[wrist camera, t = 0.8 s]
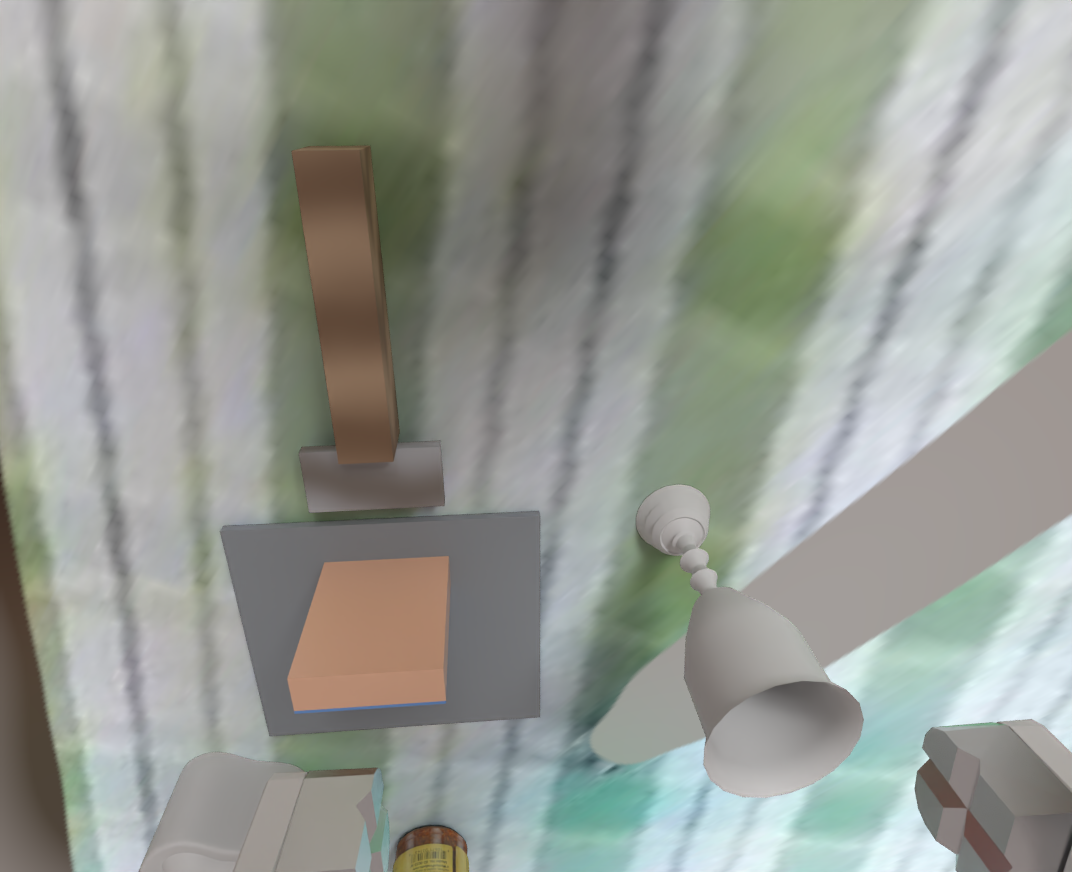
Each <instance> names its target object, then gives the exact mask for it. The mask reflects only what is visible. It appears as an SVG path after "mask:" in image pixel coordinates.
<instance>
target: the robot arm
mask: <svg viewBox="0 0 1072 872" xmlns="http://www.w3.org/2000/svg"><path fill="white" fill-rule="evenodd" d="M922 748H923V750H924V751H925V752H926V754H927V755H928V757H929V758H930V759H929V760H928V761H927V762H926V763H925V764H924V765H923V766H922V767H921V768H920V769H919V770H918V771H917V776H916V783H915V794H916V799H917V804H918V809H919V811H920V814H921V816H922V818H923V820H924V823H925V825H926V826H927V828H928V829H929V831H930V832H931V834H932V835H933V837H934V839H935V840H936V841H937V842H939V843H940V844H942V845H943V846H945V847H946V848H948V849H949V850H951V851H952V852H954V853H955V854H956V871H957V872H1072V753H1071V752H1070V751H1069V750H1068V749H1067V748H1066V747H1065V746H1064V745H1063V744H1062V743H1061V742H1060V741H1059V740H1058V739H1057V738H1056V737H1055V736H1054V735H1053V734H1052V733H1051V732H1050V731H1049V730H1048V729H1047V728H1046V727H1045V726H1043V725H1042V724H1040V723H1038V722H1036V721H1034V720H1032V719H1027V720H1015V721H1003V722H997V723H993V722H990V723H978V724H966V725H954V726H942V727H932V728H931V729H930V730H929V731H928V732H927V733H926V734H925V738H924V742H923V747H922ZM383 789H384V785H383V780H382V774H381V770H380V769H379V768H362V769H340V770H318V771H309V772H290V773H274V774H273V775H272V776H271V778H270V779H269V780H268V782H267V783H266V785H265V788H264V791H263V793H262V796H261V798H260V801H259V804H258V806H257V809H256V812H255V814H254V817H253V819H252V822H251V825H250V827H249V830H248V833H247V835H246V838H245V841H244V843H243V846H242V848H241V851H240V854H239V856H238V859H237V862H236V864H235V867H234V870H233V872H387V870H388V861H389V843H390V838H389V821H388V813H387V810H386V809H385V808H384V807H382V806H381V801H382V795H383Z"/></svg>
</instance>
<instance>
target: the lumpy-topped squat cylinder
mask: <svg viewBox="0 0 1072 872" xmlns="http://www.w3.org/2000/svg"><path fill="white" fill-rule="evenodd" d="M290 772H304V771H303V770H302V769H300V768H299V767H297V766H294V765H291V764H287V763H280V762H265V761H257V760H252V759H248V758H244V757H241V756H237V755H234V754H230V753H224V752H210V753H205V754H202V755H200V756H197V757H195V758H194V759H192V760H191V761H190V762H188V763H187V764H186V766H185V767H184V768H183V770H182V772H181V774H180V776H179V779H178V781H177V783H176V786H175V788H174V790H173V792H172V795H171V797H170V799H169V802H168V804H167V806H166V809H165V811H164V813H163V816H162V818H161V820H160V823H159V825H158V827H157V830H156V832H155V834H154V836H153V839H152V841H151V843H150V846H149V848H148V850H147V853H146V855H145V857H144V860H143V862H142V864H141V867H140V869H139V872H233V870H234V867H235V864H236V862H237V859H238V856H239V854H240V851H241V848H242V846H243V843H244V841H245V838H246V835H247V833H248V830H249V827H250V825H251V822H252V819H253V817H254V814H255V812H256V809H257V806H258V804H259V801H260V798H261V796H262V793H263V791H264V788H265V785H266V783H267V782H268V780H269V779H270V778H271V776H272V775H273V774H274V773H290Z"/></svg>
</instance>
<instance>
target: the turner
mask: <svg viewBox="0 0 1072 872" xmlns="http://www.w3.org/2000/svg"><path fill="white" fill-rule="evenodd" d="M292 157H293V164H294V170H295V177H296V184H297V191H298V197H299V204H300V211H301V217H302V224H303V231H304V237H305V244H306V251H307V257H308V264H309V271H310V277H311V284H312V291H313V297H314V304H315V311H316V317H317V324H318V331H319V337H320V344H321V351H322V357H323V364H324V371H325V377H326V384H327V391H328V398H329V404H330V411H331V418H332V424H333V431H334V438H335V444H336V445H332V446H309V447H301V449H300V451H299V458H300V463H301V469H302V475H303V480H304V486H305V492H306V497H307V503H308V508H309V513H314V512H334V511H354V510H374V509H393V508H413V507H433V506H444V504H445V495H444V481H443V468H442V455H441V441H424V442H401V443H398V438H399V434H400V429H399V420H398V410H397V400H396V391H395V381H394V371H393V362H392V352H391V342H390V332H389V323H388V313H387V303H386V294H385V284H384V274H383V265H382V255H381V245H380V235H379V226H378V216H377V206H376V197H375V187H374V177H373V167H372V158H371V148H370V146H308V147H304V148H301V149H297V150H293V151H292Z"/></svg>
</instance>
